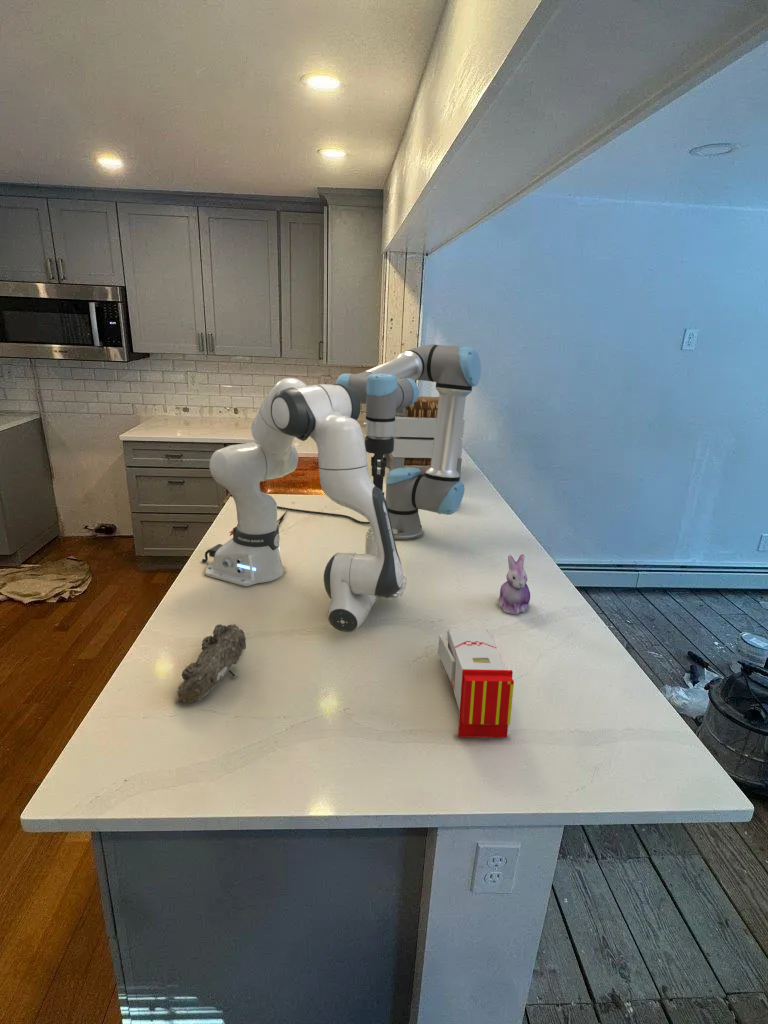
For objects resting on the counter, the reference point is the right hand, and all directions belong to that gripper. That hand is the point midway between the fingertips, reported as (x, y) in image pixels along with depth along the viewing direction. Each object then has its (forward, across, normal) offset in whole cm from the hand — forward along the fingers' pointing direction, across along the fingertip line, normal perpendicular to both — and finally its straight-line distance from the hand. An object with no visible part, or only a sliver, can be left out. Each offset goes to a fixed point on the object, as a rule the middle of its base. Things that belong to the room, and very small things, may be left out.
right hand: (376, 521), depth 152 cm
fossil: (+21, +40, -33) cm, 56 cm away
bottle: (+21, 0, 0) cm, 21 cm away
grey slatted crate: (+21, -122, +22) cm, 126 cm away
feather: (+21, -58, -33) cm, 70 cm away
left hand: (+14, -1, 0) cm, 14 cm away
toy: (+21, +44, +20) cm, 53 cm away
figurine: (+21, +7, +38) cm, 44 cm away
